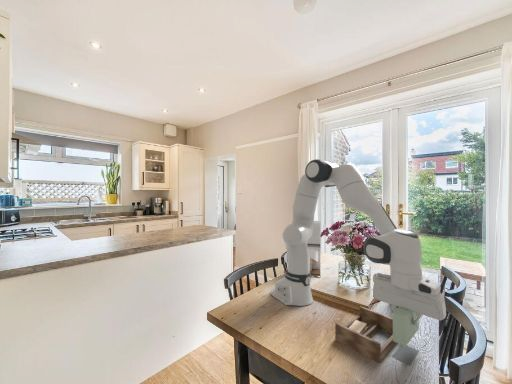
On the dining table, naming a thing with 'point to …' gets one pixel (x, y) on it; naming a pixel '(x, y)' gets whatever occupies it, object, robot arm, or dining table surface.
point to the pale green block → (403, 326)
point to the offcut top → (358, 326)
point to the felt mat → (405, 354)
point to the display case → (314, 249)
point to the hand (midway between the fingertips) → (406, 321)
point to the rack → (367, 334)
